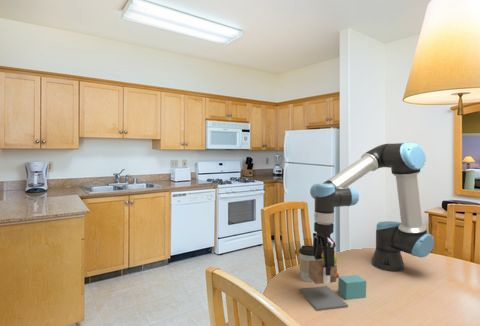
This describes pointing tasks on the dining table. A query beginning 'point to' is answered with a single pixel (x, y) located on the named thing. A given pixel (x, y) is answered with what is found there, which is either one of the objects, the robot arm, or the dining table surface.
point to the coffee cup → (305, 261)
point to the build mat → (322, 298)
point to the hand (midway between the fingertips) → (322, 278)
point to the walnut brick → (320, 271)
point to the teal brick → (352, 287)
